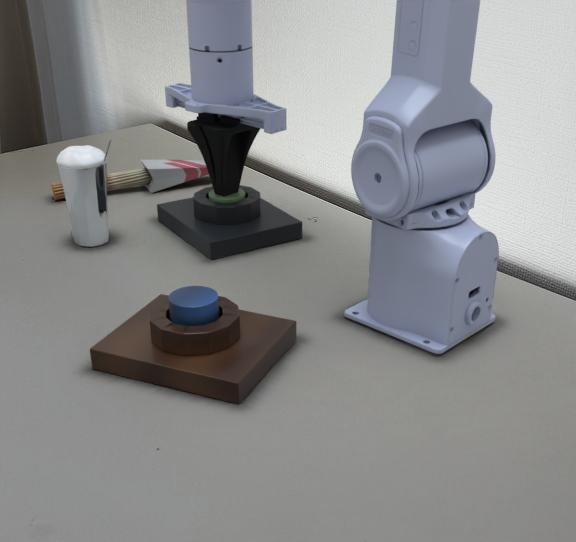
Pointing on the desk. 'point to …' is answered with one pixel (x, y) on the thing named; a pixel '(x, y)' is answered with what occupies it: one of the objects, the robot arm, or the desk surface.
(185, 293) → the blue button
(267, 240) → the black square button base
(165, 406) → the desk surface
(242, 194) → the green button
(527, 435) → the desk surface
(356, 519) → the desk surface
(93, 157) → the milkshake
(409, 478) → the desk surface
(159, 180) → the paintbrush
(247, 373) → the wooden base push button
